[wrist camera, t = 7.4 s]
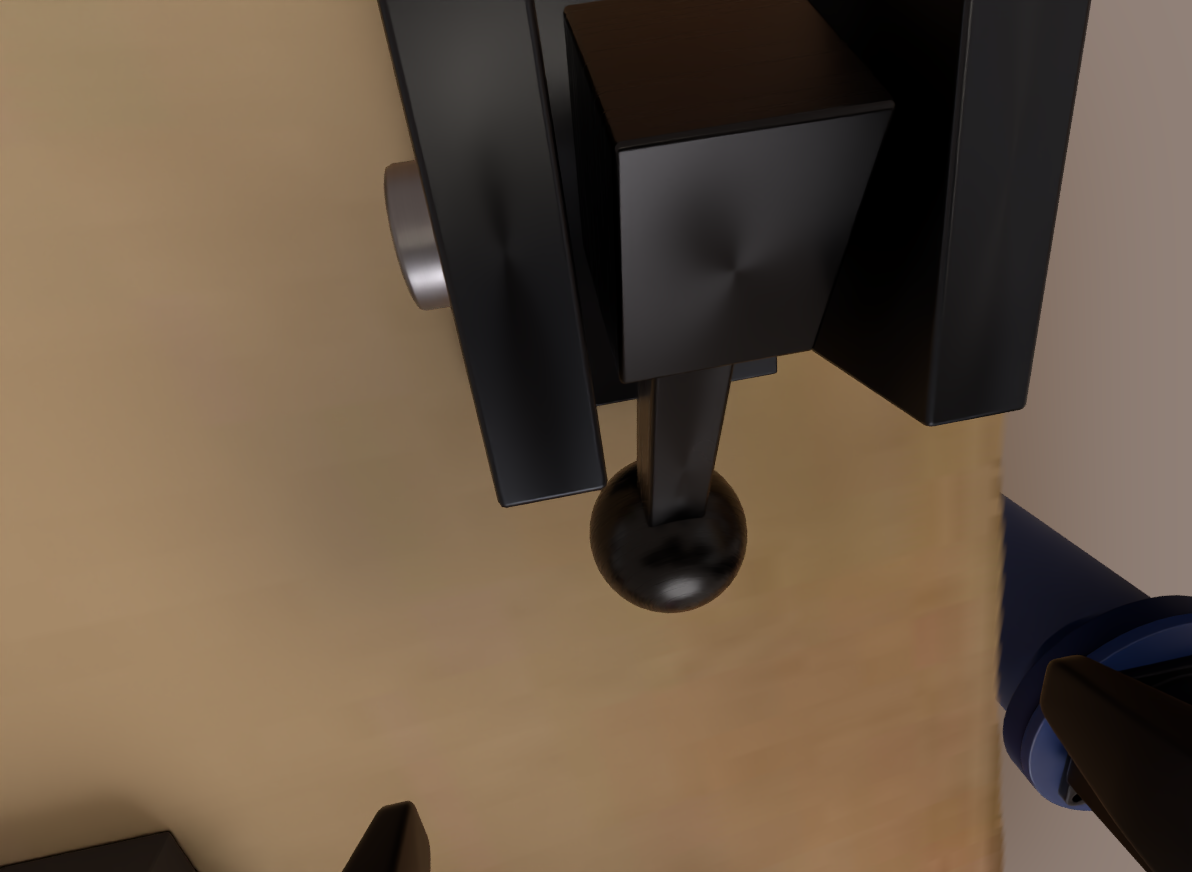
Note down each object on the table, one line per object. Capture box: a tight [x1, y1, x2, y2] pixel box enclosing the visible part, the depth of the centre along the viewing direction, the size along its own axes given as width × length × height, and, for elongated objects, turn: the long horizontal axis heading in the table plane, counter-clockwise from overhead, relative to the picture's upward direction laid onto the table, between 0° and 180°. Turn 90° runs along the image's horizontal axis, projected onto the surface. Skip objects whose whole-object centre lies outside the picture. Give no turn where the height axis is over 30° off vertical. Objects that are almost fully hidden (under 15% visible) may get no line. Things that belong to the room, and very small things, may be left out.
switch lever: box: [563, 0, 896, 613], centre depth 10 cm, size 11×3×3 cm
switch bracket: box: [377, 0, 1091, 508], centre depth 9 cm, size 10×7×10 cm
